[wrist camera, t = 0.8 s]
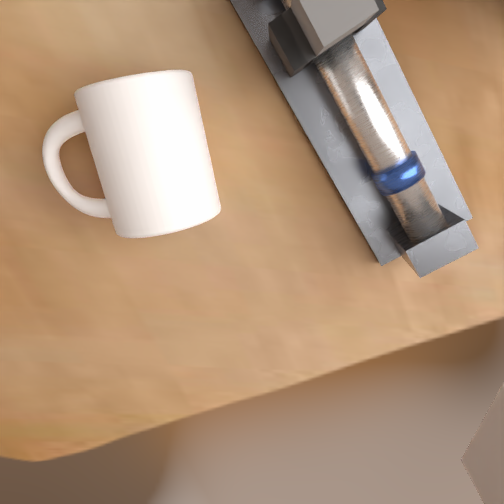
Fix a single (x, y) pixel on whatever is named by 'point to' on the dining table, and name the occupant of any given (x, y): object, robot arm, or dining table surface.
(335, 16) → the collar
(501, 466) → the robot arm
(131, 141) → the mug
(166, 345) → the dining table surface
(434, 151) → the pipe rig
